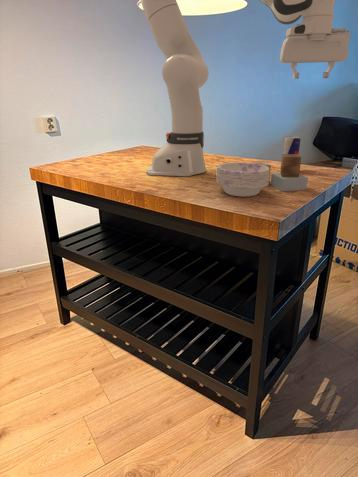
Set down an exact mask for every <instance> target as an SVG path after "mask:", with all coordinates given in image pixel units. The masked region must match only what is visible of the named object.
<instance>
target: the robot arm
mask: <svg viewBox="0 0 358 477" xmlns="http://www.w3.org/2000/svg"><path fill="white" fill-rule="evenodd" d="M259 1H260V2H261V3H263V4H264V5H265V6H266V7H268V8H269V9H270V10H271V12H272V14H273V16H274V18H275V19H276V21H277V22H278V23H280V24H283V25H292V24H295V23H296V22H297V21H298V20H300V18H301V17H302V22H301V23H298V24H296V25H294V26H291V27H289V28H287V29H286V31H285V36H286V38H285V39H284V40H283V42H282V46H281V49H280V56H279V61H280V63H281V64H290V69H291V71H292V73H293V75H292V79H294V80H296V79H297V80H298V79H299V78H300V72H297V69H296V67H297V64H305V63H310V64H311V63H312V64H313V63H327V66H328V68H327V69H326V71H324V72H323V71H322V78H323V79H329V78H330V73H331V71H332V70H333V68H334V67H335V63H344V62H345V61H346V60H347V59H348V56H349V43H350V39H351V32H350V30H349V29H347V28H345V27H343V28H333V23H334V16H335V14H334V6H335V3H336V0H259ZM140 2H141V5H142V6H141V7H142V10H143V12H144V16H145V18H146V20H147V23H148V25H149V28H150V29H151V30H150V31H151V33H152V36H153V37H154V40H155V42H156V44H157V47H158V48H159V50H160V51H161V52H162V53H163V55H164V56H165V58H166V60H165V61H164V63H163V66H162V71H161V73H162V74H161V75H162V79H163V81H164V84H165V85H166V88H167V93H168V99H169V103H170V109H171V132H170V131H168V132H167V133H166V134H165V136H166V143H165V144H164V145H163V146H162V147H161V148H159V149H158V150H157V151H156V152H155V153H154V155H153V157H152V161H151V162H152V163H151V165H149V166H147V168H146V174H148V175H150V176H167V177H168V176H169V177H170V176H171V177H191V176H193V175H199V174H204V173H206V172H207V167H206V163H205V157H204V155H205V154H204V146H205V135H204V131H203V130H204V128H203V124H204V123H203V120H204V119H203V116H204V114H203V113H204V108H203V106H202V102H201V97H200V91H199V89H201V87H203V86H204V85H205V84H206V82H207V81H208V79H209V74H210V72H209V68H208V66H207V64H206V62H205V61H204V58H203V57H202V54H201V52H200V50H199V48H198V47H197V44H196V43H195V41H194V39H193V37H192V35H191V33H190V32H189V29H188V27H187V25H186V22H185V18H184V17H183V15H182V12H181V9H180V6H179V5H178V2H177V0H140Z"/></svg>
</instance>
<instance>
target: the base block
mask: <svg viewBox="0 0 358 477" xmlns="http://www.w3.org/2000/svg"><path fill="white" fill-rule="evenodd" d="M270 186H272V187H274V188H276V189H277V190H280V191H281V192H291V191H303V190H307V189H308V177H307V176H305V175H302V174H300V173H299V177H282V176H281V174H280V172H272V173H271V174H270Z"/></svg>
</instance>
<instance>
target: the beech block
mask: <svg viewBox="0 0 358 477" xmlns="http://www.w3.org/2000/svg"><path fill="white" fill-rule="evenodd" d="M253 163H254V164H261V165H265V166H267V167H269V169H270V170H269V182H268V184H270V182H271V166H272V165H271V164H269V163H267V162H264V161H262V162H259V161H258V162H253Z"/></svg>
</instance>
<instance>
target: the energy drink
mask: <svg viewBox="0 0 358 477" xmlns="http://www.w3.org/2000/svg"><path fill="white" fill-rule="evenodd" d="M283 148H284V149H283V154H299V155H300V148H301V137H300V136H293V135H292V136H291V135H289V136H286V137H285V139H284V147H283Z"/></svg>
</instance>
